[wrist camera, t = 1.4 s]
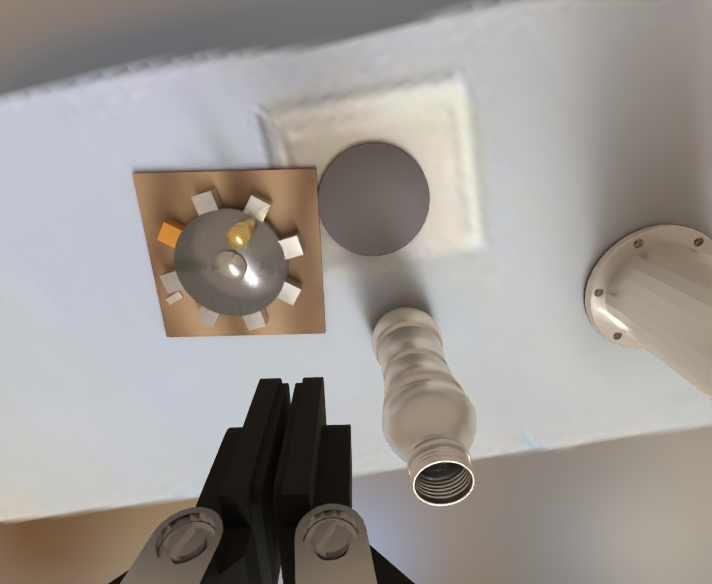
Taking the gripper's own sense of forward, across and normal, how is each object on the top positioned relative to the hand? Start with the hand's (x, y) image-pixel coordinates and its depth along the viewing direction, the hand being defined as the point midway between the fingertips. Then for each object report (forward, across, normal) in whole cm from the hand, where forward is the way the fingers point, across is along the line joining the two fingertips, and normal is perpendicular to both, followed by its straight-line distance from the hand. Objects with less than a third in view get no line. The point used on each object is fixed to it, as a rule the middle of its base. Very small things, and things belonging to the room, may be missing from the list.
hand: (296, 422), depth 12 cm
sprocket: (+29, +10, +4) cm, 31 cm away
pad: (+29, -4, -1) cm, 29 cm away
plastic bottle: (+29, -6, +12) cm, 32 cm away
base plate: (+29, +10, +4) cm, 31 cm away
